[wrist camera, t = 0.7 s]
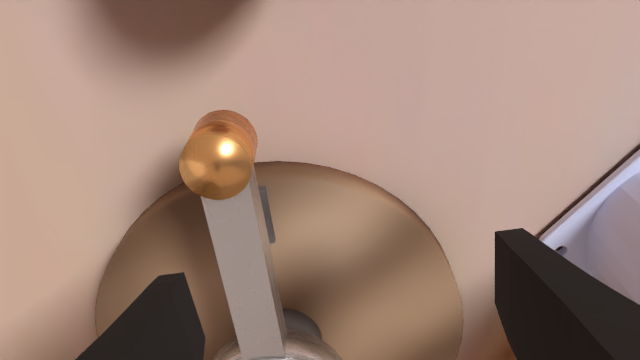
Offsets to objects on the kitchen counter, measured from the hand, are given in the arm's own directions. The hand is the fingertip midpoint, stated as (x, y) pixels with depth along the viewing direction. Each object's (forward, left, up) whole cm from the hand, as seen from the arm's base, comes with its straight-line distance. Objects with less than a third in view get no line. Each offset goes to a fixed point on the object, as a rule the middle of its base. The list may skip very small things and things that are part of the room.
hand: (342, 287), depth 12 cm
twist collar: (-1, +5, -6) cm, 8 cm away
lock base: (-4, +9, -9) cm, 13 cm away
